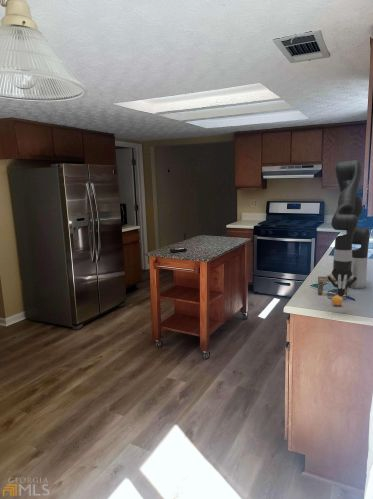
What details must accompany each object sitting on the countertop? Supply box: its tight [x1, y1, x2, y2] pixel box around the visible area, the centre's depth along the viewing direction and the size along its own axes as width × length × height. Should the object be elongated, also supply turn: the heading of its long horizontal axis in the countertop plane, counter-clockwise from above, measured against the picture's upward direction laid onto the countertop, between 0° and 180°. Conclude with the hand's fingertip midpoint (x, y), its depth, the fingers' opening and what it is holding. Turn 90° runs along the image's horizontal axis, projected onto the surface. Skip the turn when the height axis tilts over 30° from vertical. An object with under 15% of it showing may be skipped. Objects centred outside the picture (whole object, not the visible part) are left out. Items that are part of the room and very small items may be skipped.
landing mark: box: [316, 282, 338, 291], centre depth 203 cm, size 12×12×1 cm
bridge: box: [317, 278, 349, 297], centre depth 189 cm, size 3×14×9 cm, turn 76°
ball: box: [331, 294, 344, 307], centre depth 175 cm, size 5×5×5 cm
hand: (340, 296), depth 164 cm, fingers closed
